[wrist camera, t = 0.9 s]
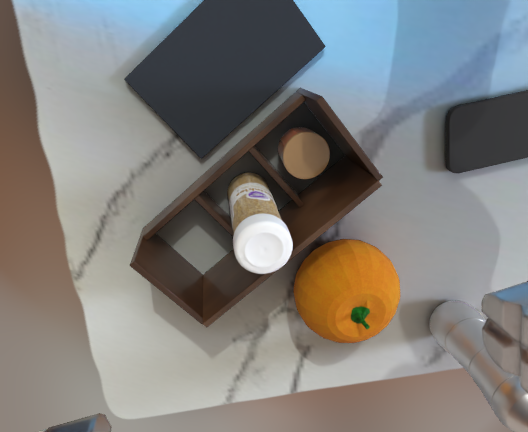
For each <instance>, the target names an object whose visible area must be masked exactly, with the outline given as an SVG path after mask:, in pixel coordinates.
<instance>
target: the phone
mask: <svg viewBox="0 0 528 432" xmlns="http://www.w3.org/2000/svg"><path fill="white" fill-rule="evenodd" d="M527 157H528V90H526V91H521V92H517V93H512V94H508V95H503V96H498V97H494V98H489V99H485V100H480V101H476V102H471V103H466V104H462V105H458V106H455V107H453V108H451V109H450V110H449V112H448V113H447V116H446V167H447V169H448V170H449V171H451V172H453V173H462V172H466V171H470V170H475V169H479V168H483V167H488V166H492V165H497V164H501V163H505V162H510V161H514V160H518V159H523V158H527Z"/></svg>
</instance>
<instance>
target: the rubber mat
mask: <svg viewBox="0 0 528 432" xmlns="http://www.w3.org/2000/svg"><path fill="white" fill-rule="evenodd" d="M324 48H325V45H324V44H323V42H322V41H321V39H320V38H319V36H318V35H317V34H316V32H315V31H314V29H313V28H312V26H311V25H310V24H309V22H308V21H307V19H306V18H305V17H304V15H303V14H302V12H301V11H300V9H299V8H298V7H297V5H296V4H295V2H294V1H293V0H204V1H203V2H202V3H201V4H200V5H199V6H198V7H197V8H196V9H195V10H194V11H193V12H192V13H191V14H190V15H189V16H188V17H187V18H186V19H185V20H184V21H183V22H182V23H181V24H180V25H179V26H178V27H177V28H176V29H175V30H174V31H173V32H172V33H171V34H170V35H169V36H167V37H166V38H165V39H164V40H163V41H162V42H161V43H160V44H159V45H158V46H157V47H156V48H155V49H154V50H153V51H152V52H151V53H150V54H149V55H148V56H147V57H146V58H145V59H144V60H143V61H142V62H141V63H140V64H139V65H138V66H137V67H136V68H135V69H134V70H133V71H132V72H131V73H130V74H129V75H128V76H127V77H126V78H125V79H124V80H125V81H126V82H127V83H128V84H129V85H130V86H131V87H132V88H133V89H134V90H135V91H136V92H137V93H138V94H139V95H140V96H141V97H142V98H143V99H144V100H145V101H146V102H147V103H148V104H149V105H150V106H151V107H152V109H153V110H154V111H155V112H156V113H157V114H158V115H159V116H160V117H161V118H162V119H163V120H164V121H165V122H166V123H167V124H168V125H169V126H170V127H171V128H172V129H173V130H174V131H175V132H176V133H177V134H178V135H179V136H180V137H181V138H182V139H183V140H184V142H185V143H186V144H187V145H188V146H189V147H190V148H191V149H192V150H193V151H194V152H195V153H196V154H197V155H198V156H199V157H200V158H201V159H202V158H203V157H204V156H205V155H206V154H207V153H208V152H210V151H211V150H212V149H213V148H214V147H215V146H216V145H217V144H218V143H219V142H221V141H222V140H223V139H224V138H225V137H226V136H227V135H228V134H229V133H231V132H232V131H233V130H234V129H235V128H236V127H237V126H238V125H239V124H241V123H242V122H243V121H244V120H245V119H246V118H247V117H248V116H249V115H250V114H252V113H253V112H254V111H255V110H256V109H257V108H258V107H259V106H260V105H262V104H263V103H264V102H265V101H266V100H267V99H268V98H269V97H270V96H271V95H273V94H274V93H275V92H276V91H277V90H278V89H279V88H280V87H281V86H283V85H284V84H285V83H286V82H287V81H288V80H289V79H290V78H291V77H293V76H294V75H295V74H296V73H297V72H298V71H299V70H300V69H301V68H302V67H304V66H305V65H306V64H307V63H308V62H309V61H310V60H311V59H312V58H314V57H315V56H316V55H317V54H318V53H319V52H320V51H321V50H322V49H324Z"/></svg>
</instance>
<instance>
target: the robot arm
mask: <svg viewBox="0 0 528 432" xmlns="http://www.w3.org/2000/svg"><path fill="white" fill-rule="evenodd" d="M482 312H483V313H484V314H485V315H486V316H487V317H488V319H487V321H486V322H485V324H484V326H483V327H482V339H483V343H484V346H485V348H486V350H487V353H488V354H489V356H490V357H491V359H492V360H493V361H494V363H495V364H496V365H498V366H499V367H500V368H501V369H502V370H503V371H504V372H507V373H510V374H513V375H516V376H518V377H519V381H520V386H521V388H523V389H524V390H525V391H526V392H527V393H528V281H527V282H524V283H521V284H518V285H515V286H511V287H508V288H505V289H502V290H499V291H496V292H492V293H489V294H486V295H485V296H484V298H483V300H482ZM38 432H111V425H110V423H109V421H108V419H107V417H106V415H104V414H100V413H99V414H96V415H92V416H89V417H85V418H82V419H78V420H74V421H71V422H67V423H64V424H60V425H57V426H53V427H50V428H48V429H45V430H41V431H38Z"/></svg>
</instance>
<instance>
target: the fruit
mask: <svg viewBox="0 0 528 432" xmlns="http://www.w3.org/2000/svg"><path fill="white" fill-rule="evenodd" d="M294 297H295V302H296V308H297V310H298V312H299V314H300V316H301V317H302V319H303V320H304V322H305V324H306V325H307V326H308V327H309V328H310V329H311V330H313V331H314V332H315V333H317V334H318V335H320V336H321V337H323V338H325V339H329V340H332V341H335V342H339V343H355V342H359V341H363V340H367V339H369V338H371V337H373V336H375V335H377V334H378V333H379V332H380V331H382V330H383V329H384V328H385V327H386V326H387V325H388V324H389V322H390V321H391V319H392V318H393V316H394V315H395V313H396V310H397V307H398V303H399V300H400V281H399V277H398V275H397V273H396V270H395V268H394V266H393V264H392V262H391V261H390V259H388V258H387V257H386V256H385V255H384V254H383V253H382V252H381V251H380V250H379V249H378V248H376V247H375V246H372V245H370V244H367V243H365V242H363V241H360V240H350V239H341V240H336V241H332V242H328V243H326V244H324V245H322V246H320V247H318V248H317V249H315V250H314V251H313V252H312V253H311V254H310V255H309V256H308V257H307V258H306V259H305V260H304V261H303V263H302V265H301V266H300V268H299V270H298V272H297V274H296V278H295V284H294Z"/></svg>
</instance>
